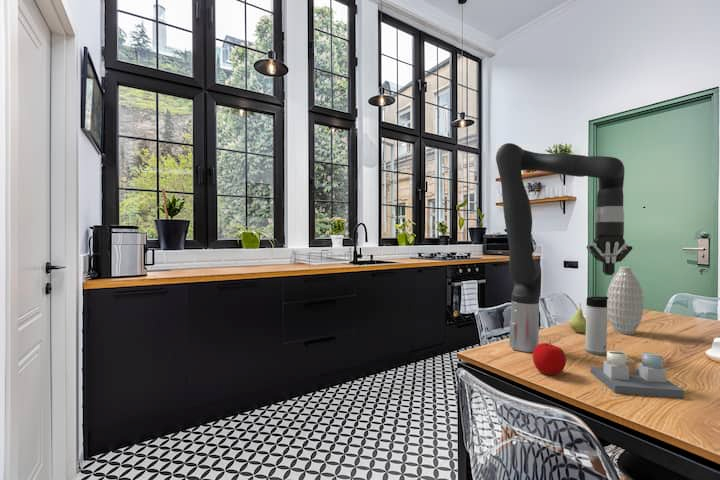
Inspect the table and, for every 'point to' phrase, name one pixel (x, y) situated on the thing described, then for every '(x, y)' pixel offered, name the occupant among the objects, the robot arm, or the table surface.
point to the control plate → (637, 381)
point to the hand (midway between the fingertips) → (608, 274)
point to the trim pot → (631, 365)
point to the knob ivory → (616, 358)
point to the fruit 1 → (549, 359)
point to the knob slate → (652, 360)
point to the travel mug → (596, 325)
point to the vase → (625, 302)
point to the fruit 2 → (578, 322)
